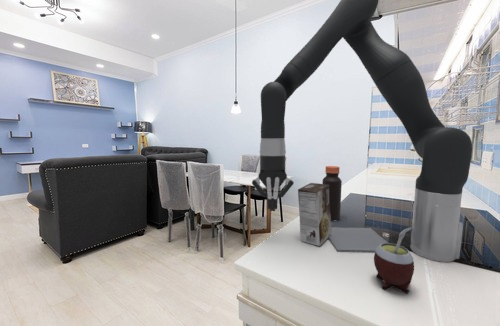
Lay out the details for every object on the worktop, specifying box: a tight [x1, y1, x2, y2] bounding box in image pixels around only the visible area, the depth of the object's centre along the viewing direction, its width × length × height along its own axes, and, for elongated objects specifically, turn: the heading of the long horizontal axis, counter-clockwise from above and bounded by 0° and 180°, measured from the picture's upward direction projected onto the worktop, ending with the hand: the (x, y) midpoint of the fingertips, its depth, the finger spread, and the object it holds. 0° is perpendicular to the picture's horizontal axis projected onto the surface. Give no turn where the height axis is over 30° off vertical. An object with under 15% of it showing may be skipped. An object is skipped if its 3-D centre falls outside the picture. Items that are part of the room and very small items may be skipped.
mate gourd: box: [373, 226, 415, 295], centre depth 45 cm, size 8×8×15 cm
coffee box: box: [297, 182, 332, 247], centre depth 66 cm, size 9×6×16 cm
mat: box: [327, 226, 389, 254], centre depth 67 cm, size 16×15×1 cm
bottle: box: [321, 165, 343, 221], centre depth 83 cm, size 7×7×20 cm
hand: (272, 210), depth 67 cm, fingers closed
